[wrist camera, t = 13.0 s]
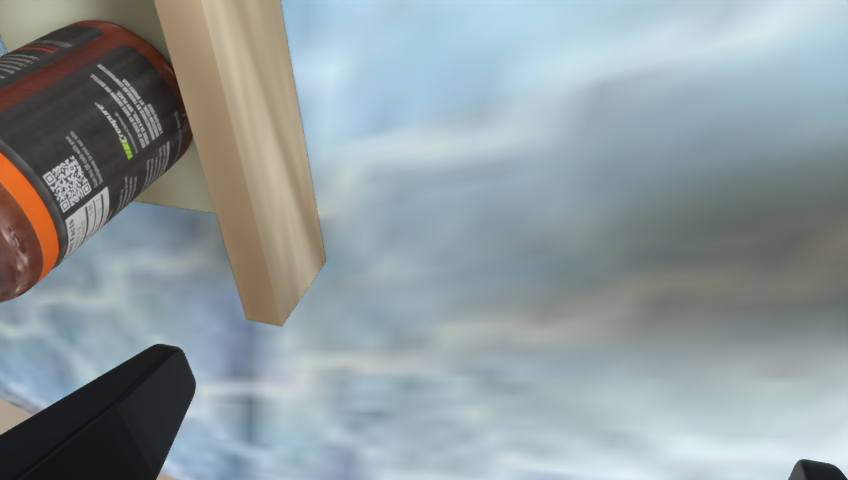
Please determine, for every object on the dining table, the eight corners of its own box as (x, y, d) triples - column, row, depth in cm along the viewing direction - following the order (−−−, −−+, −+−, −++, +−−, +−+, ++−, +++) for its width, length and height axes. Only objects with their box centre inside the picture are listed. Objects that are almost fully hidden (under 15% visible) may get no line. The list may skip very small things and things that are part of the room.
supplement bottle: (36, 72, 25) (-297, 242, 16) (104, -22, 22) (-269, 131, 13) (152, 187, 27) (-92, 393, 18) (231, 117, 24) (-22, 330, 15)
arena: (244, -200, 17) (155, -188, 14) (326, 261, 27) (281, 326, 24) (-131, -183, 21) (-266, -171, 18) (57, 217, 31) (-11, 269, 28)
